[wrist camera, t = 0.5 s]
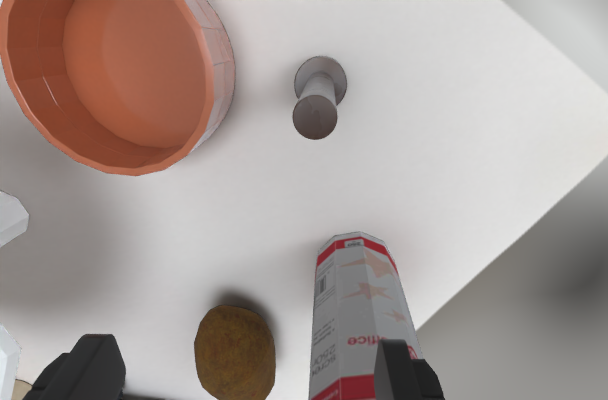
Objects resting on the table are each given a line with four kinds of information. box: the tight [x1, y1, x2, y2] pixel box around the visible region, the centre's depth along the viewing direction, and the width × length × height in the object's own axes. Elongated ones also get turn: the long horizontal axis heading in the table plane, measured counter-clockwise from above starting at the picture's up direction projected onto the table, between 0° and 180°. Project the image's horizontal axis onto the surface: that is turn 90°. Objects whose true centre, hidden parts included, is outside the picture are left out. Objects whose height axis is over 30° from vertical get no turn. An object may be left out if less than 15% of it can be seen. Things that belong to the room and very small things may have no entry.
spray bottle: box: [308, 232, 423, 400], centre depth 24 cm, size 8×8×25 cm
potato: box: [194, 305, 276, 400], centre depth 37 cm, size 8×12×8 cm, turn 22°
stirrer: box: [293, 56, 347, 140], centre depth 22 cm, size 4×4×14 cm
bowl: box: [0, 0, 235, 176], centre depth 26 cm, size 14×14×6 cm
